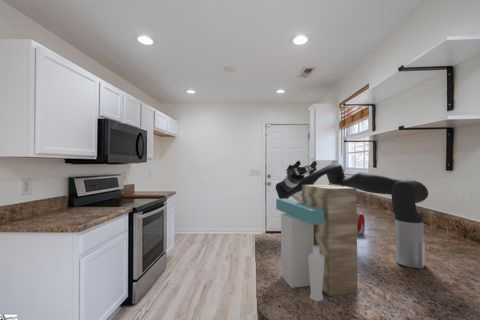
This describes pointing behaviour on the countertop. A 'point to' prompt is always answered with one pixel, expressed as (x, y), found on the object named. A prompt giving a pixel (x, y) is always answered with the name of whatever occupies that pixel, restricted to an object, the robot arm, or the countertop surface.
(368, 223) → the countertop surface
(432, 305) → the countertop surface
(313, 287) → the perfume bottle
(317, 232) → the maple stand
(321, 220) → the teal bar
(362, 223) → the soda can
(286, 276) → the white block
